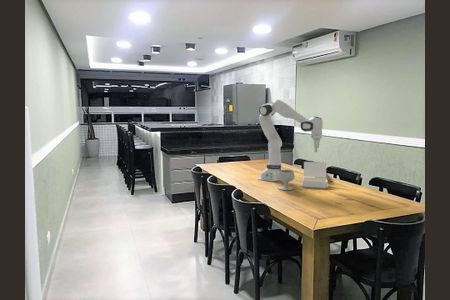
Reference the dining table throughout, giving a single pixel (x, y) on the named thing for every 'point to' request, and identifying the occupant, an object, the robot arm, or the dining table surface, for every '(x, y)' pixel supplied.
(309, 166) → the lid
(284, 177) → the chalice
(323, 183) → the mailer box
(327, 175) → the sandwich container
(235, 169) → the dining table surface
